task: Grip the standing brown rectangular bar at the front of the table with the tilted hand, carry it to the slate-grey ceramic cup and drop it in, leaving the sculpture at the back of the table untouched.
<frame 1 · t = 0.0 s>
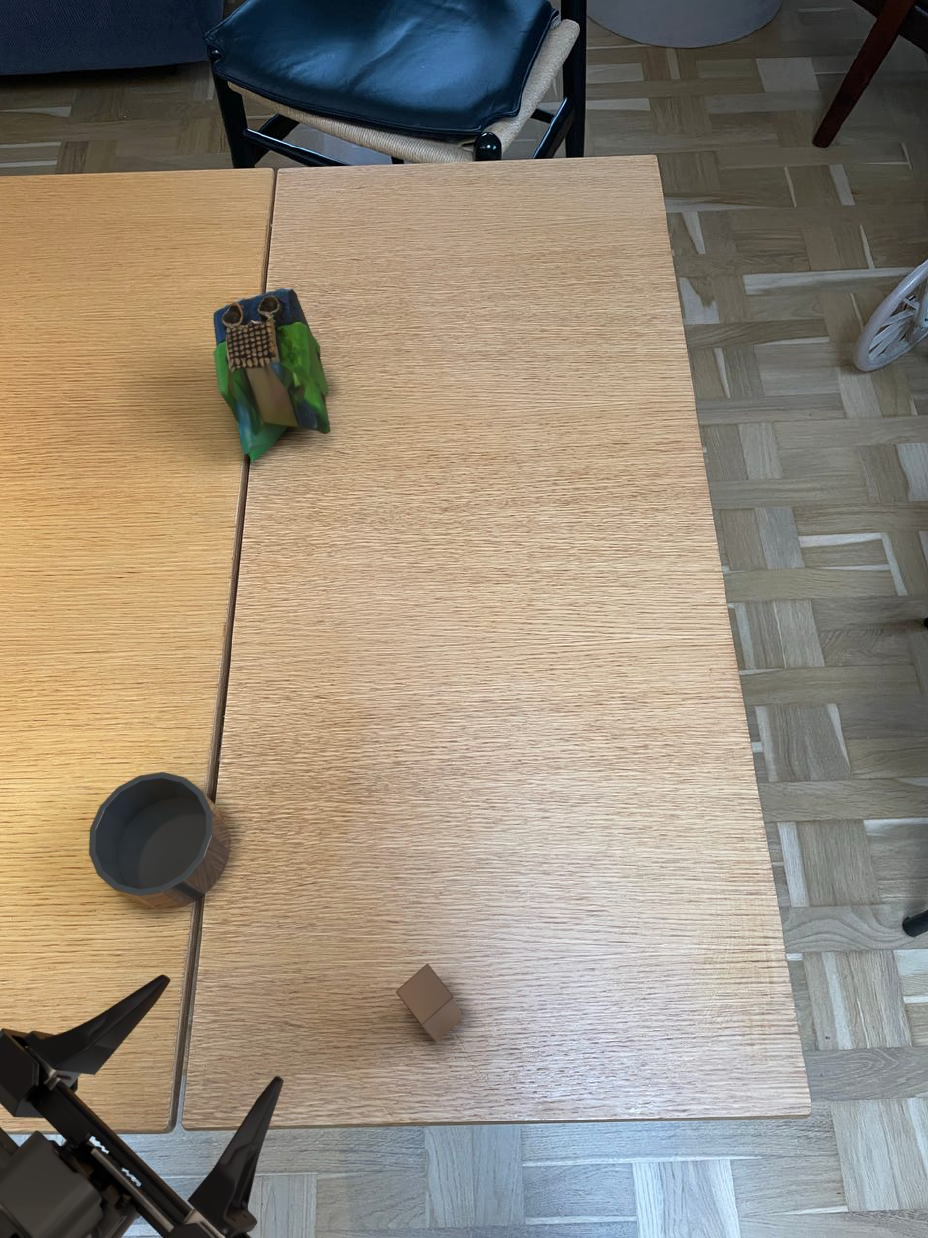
hand: (222, 1026, 57), 17 cm above the table, tool horizontal, fingers open, 9 cm apart
cup: (172, 850, 80), on the table
sculpture: (282, 411, 100), on the table
brown rectangular bar: (439, 1016, 73), on the table
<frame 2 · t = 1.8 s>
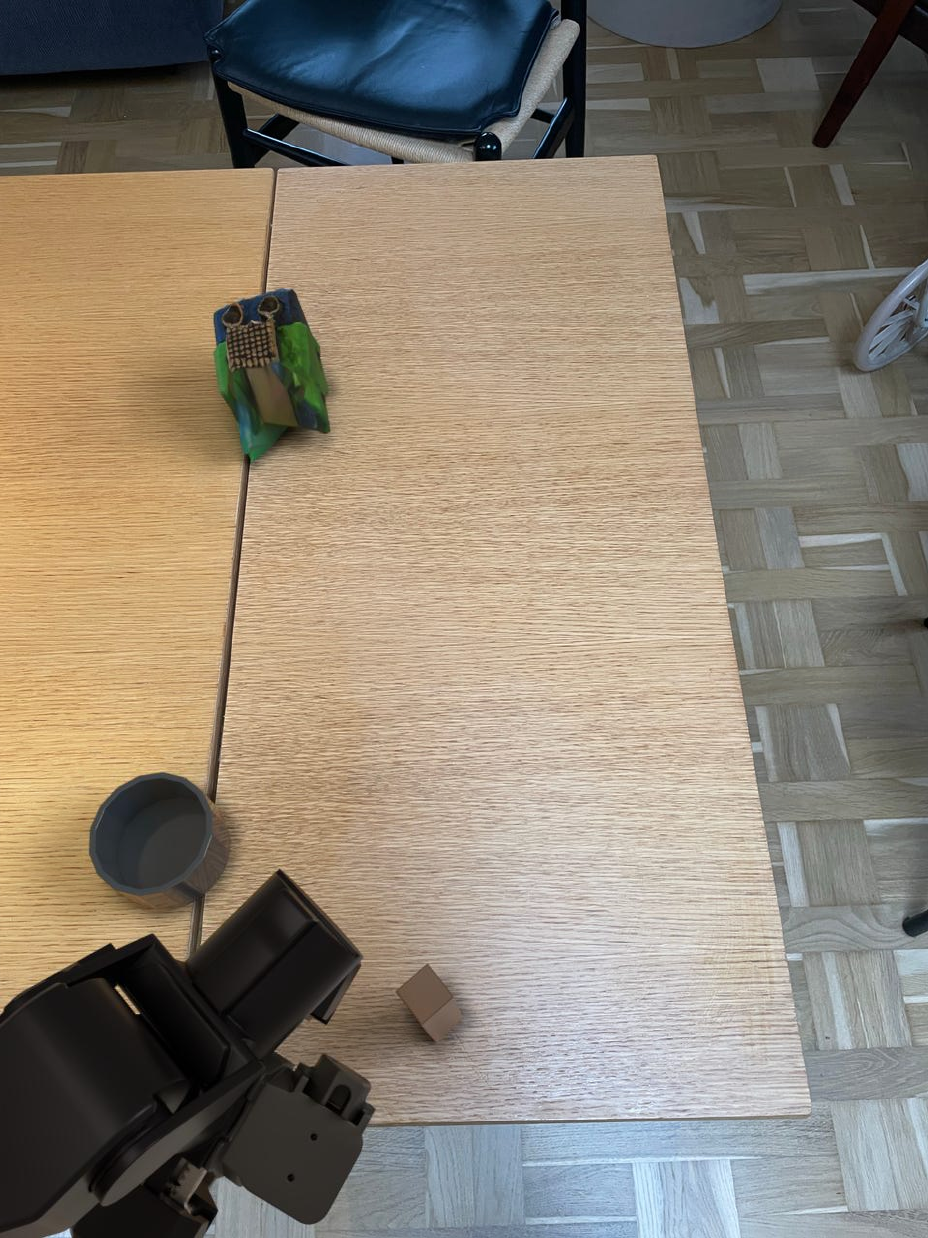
hand: (263, 1084, 60), 13 cm above the table, tool pointing down, fingers open, 9 cm apart
nothing on the table moved.
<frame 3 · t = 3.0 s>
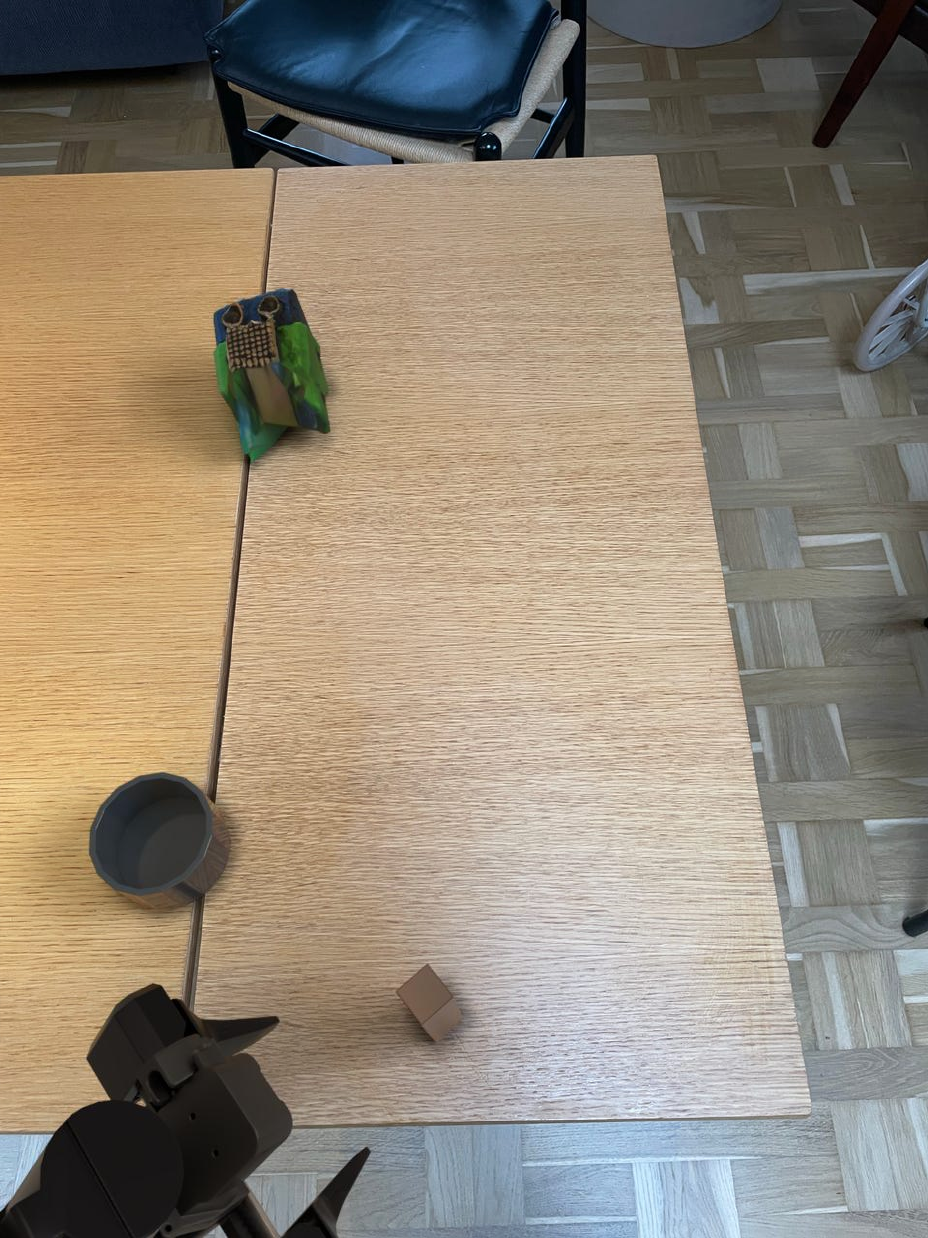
hand: (319, 1085, 59), 13 cm above the table, tool tilted 45°, fingers open, 9 cm apart
nothing on the table moved.
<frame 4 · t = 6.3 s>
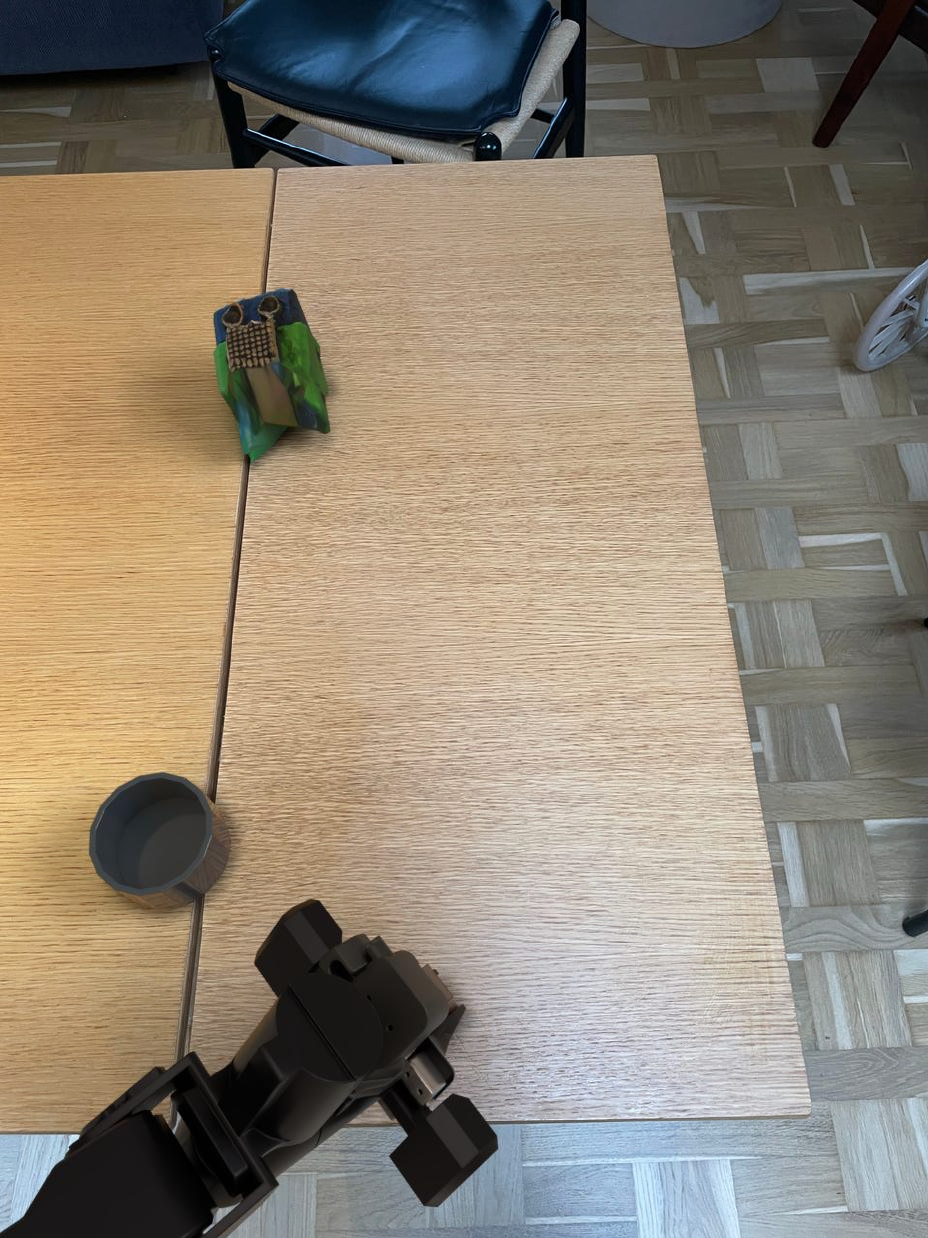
hand: (448, 992, 67), 7 cm above the table, tool tilted 45°, fingers closed on brown rectangular bar, 2 cm apart
brown rectangular bar: (439, 1016, 73), on the table, touching gripper
everything else where it was.
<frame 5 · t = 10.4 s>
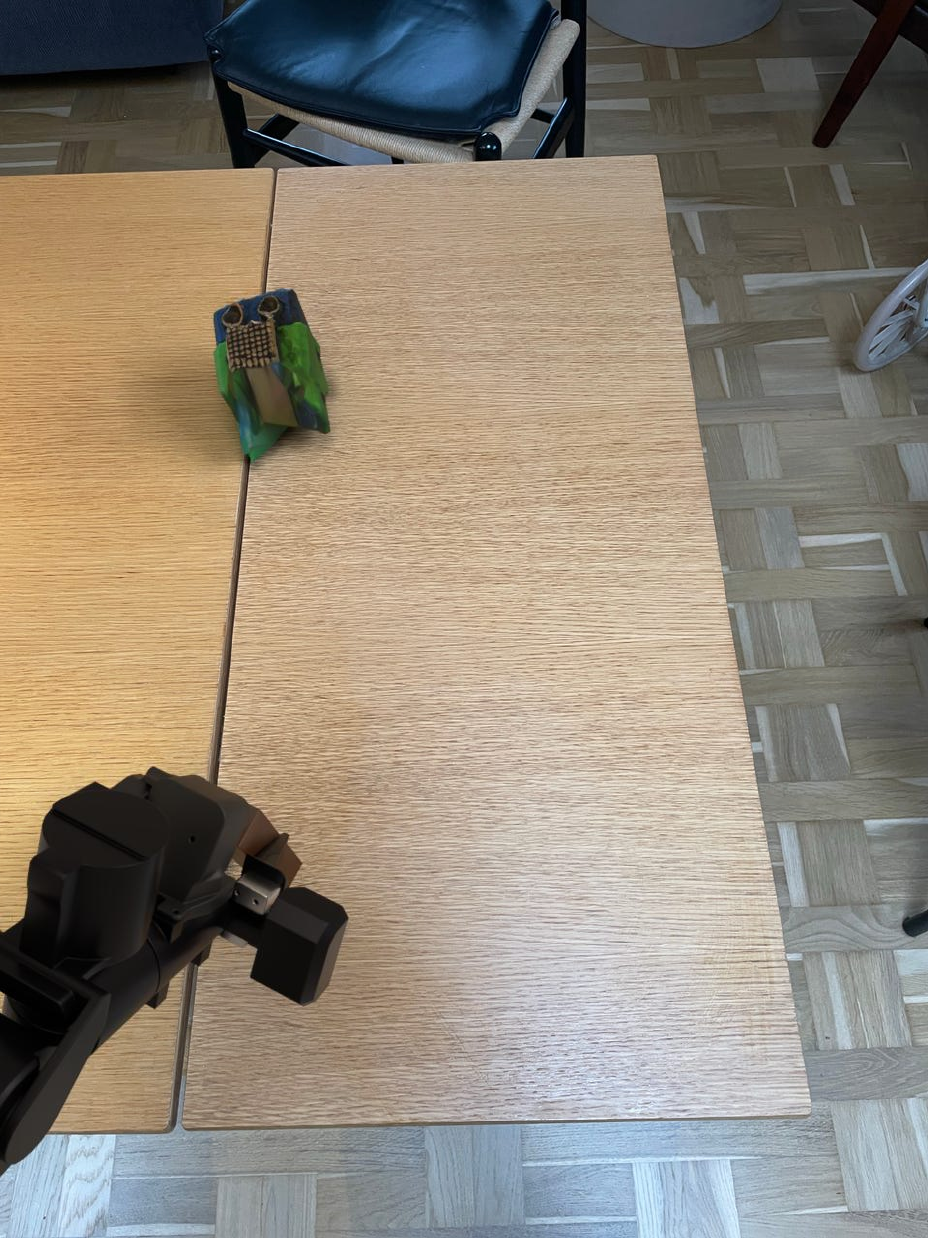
hand: (268, 830, 66), 14 cm above the table, tool tilted 45°, fingers closed on brown rectangular bar, 2 cm apart
brown rectangular bar: (278, 871, 71), point 7 cm above the table, touching gripper
everything else where it was.
when the fingers open (8 cm above the table, at t = 14.4 s): brown rectangular bar stays where it is, resting on cup.
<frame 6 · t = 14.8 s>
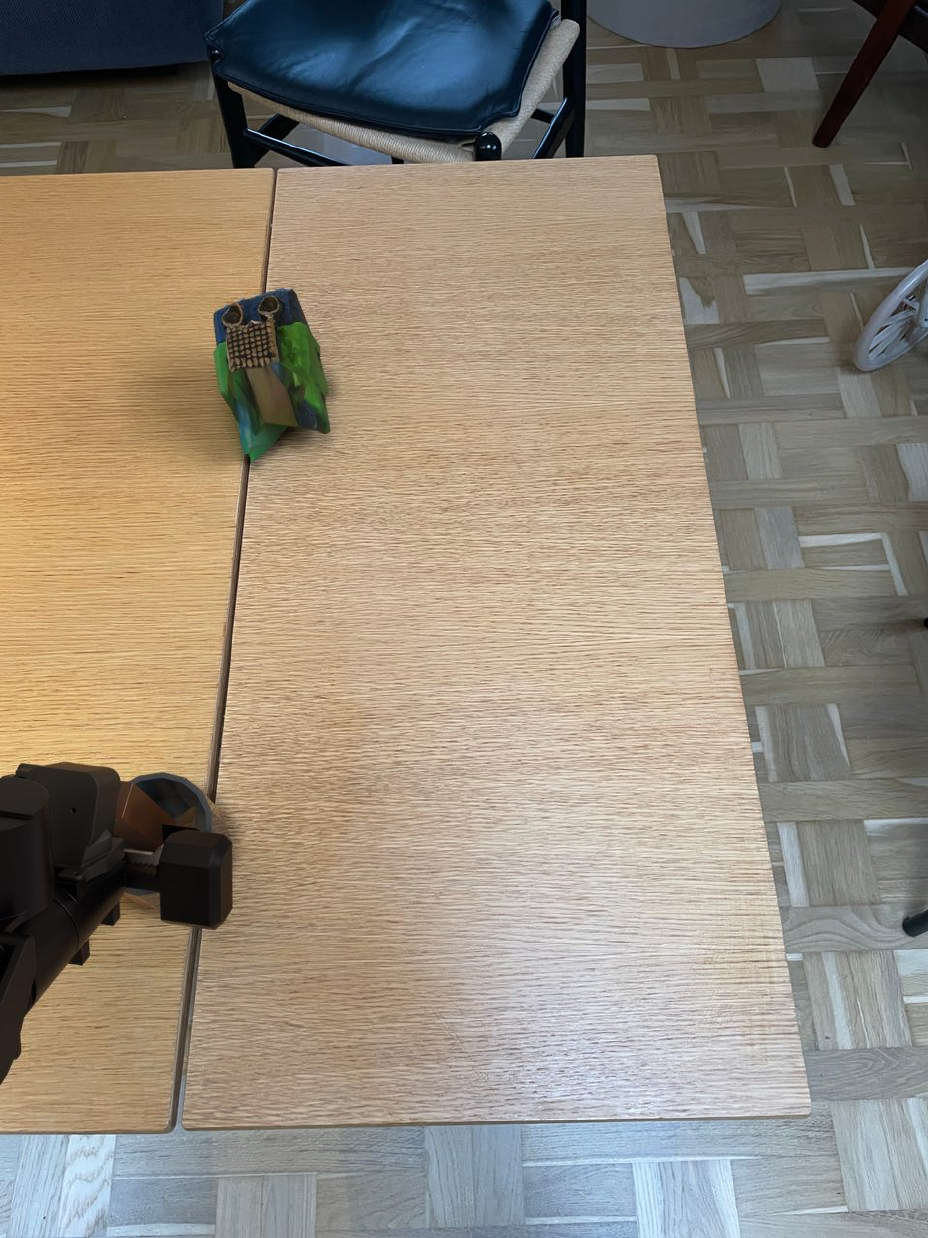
hand: (146, 806, 73), 8 cm above the table, tool tilted 45°, fingers open, 7 cm apart
brown rectangular bar: (170, 848, 79), point 1 cm above the table, touching cup
everything else where it was.
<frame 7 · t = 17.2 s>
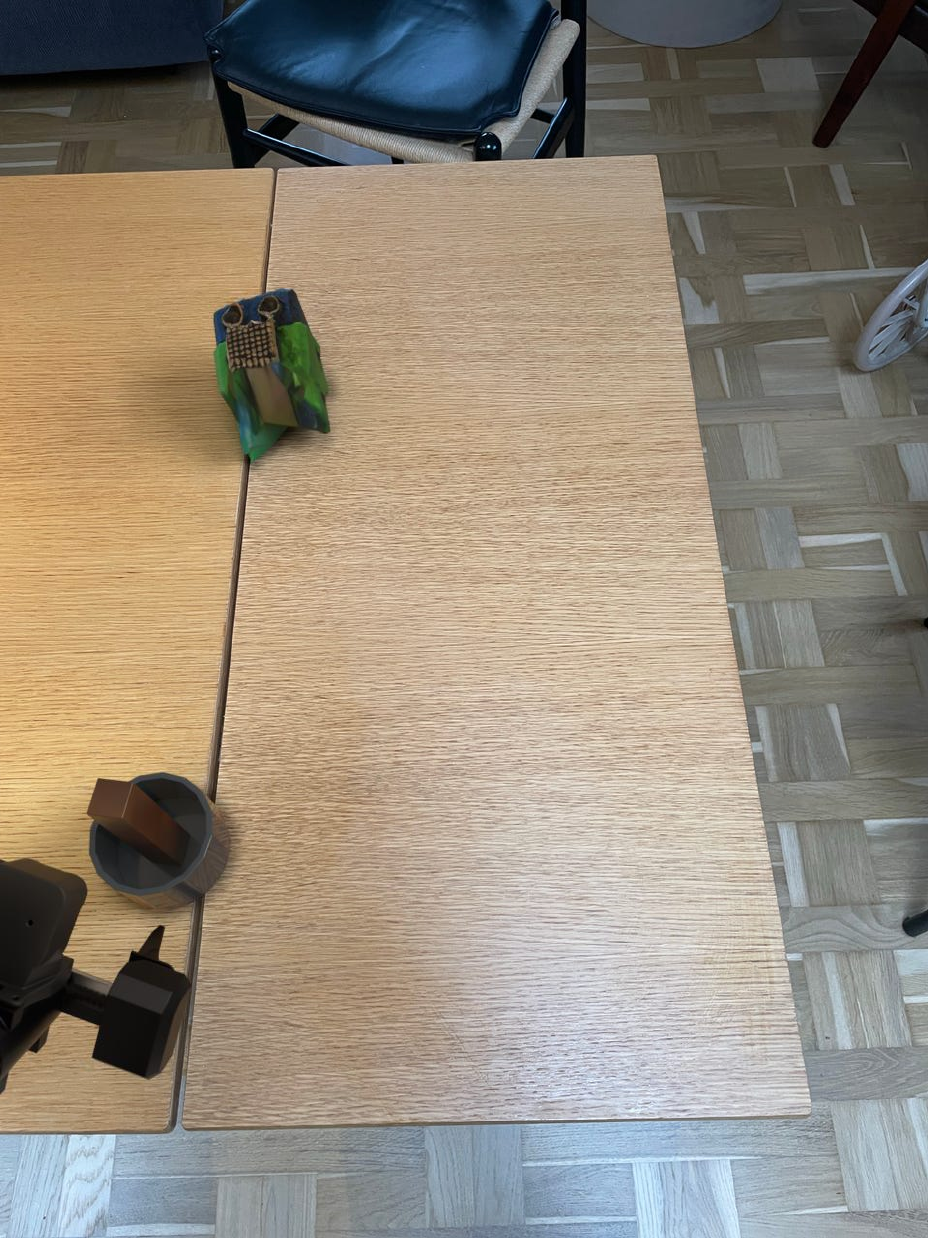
hand: (98, 908, 66), 12 cm above the table, tool tilted 40°, fingers open, 9 cm apart
nothing on the table moved.
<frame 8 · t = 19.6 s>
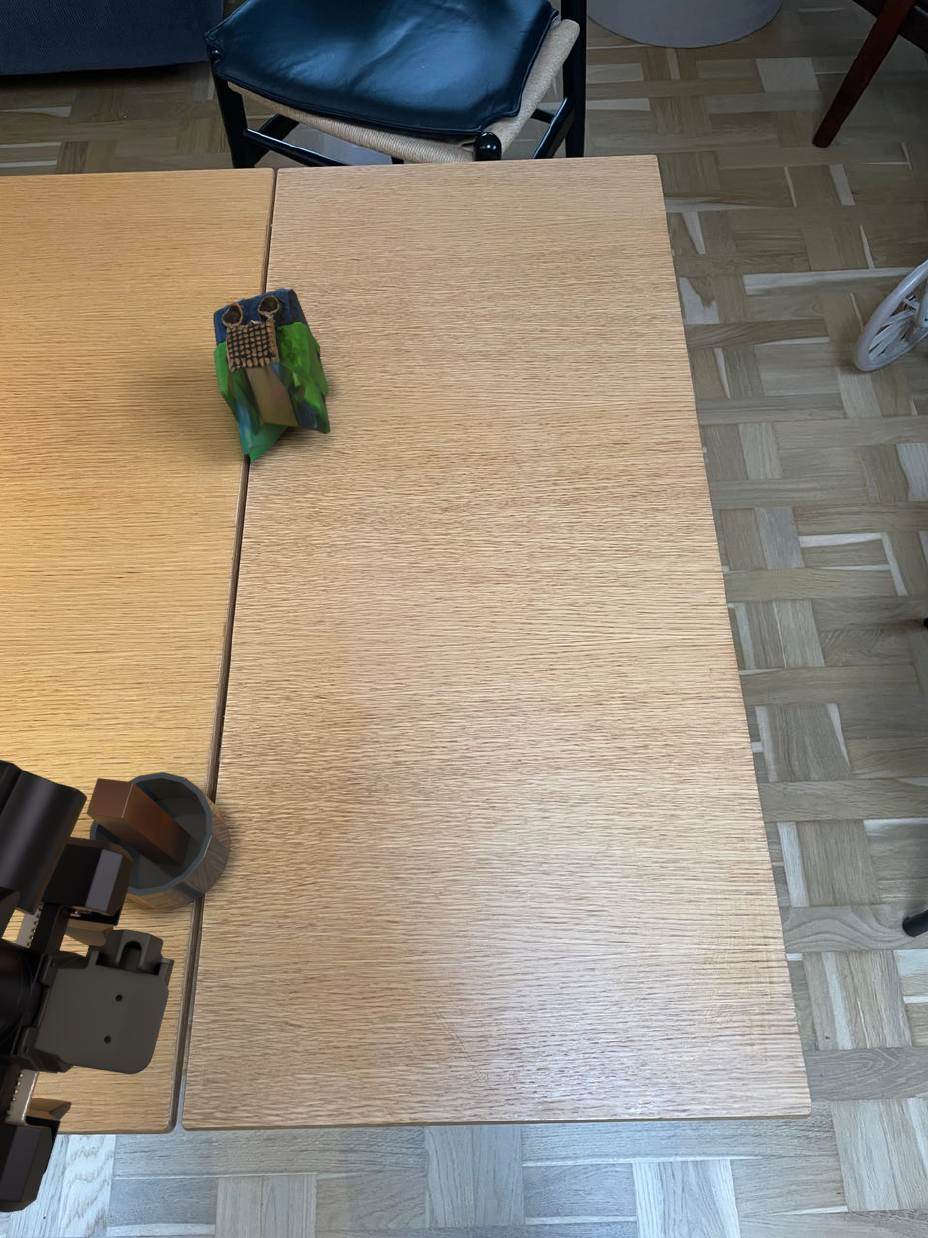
hand: (87, 1023, 61), 13 cm above the table, tool pointing down, fingers open, 9 cm apart
nothing on the table moved.
at the end: brown rectangular bar inside the target area in the cup (0.0 cm from its centre), point 0.6 cm above the cup's base; the gripper is holding nothing; sculpture moved 0.2 cm from its start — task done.
